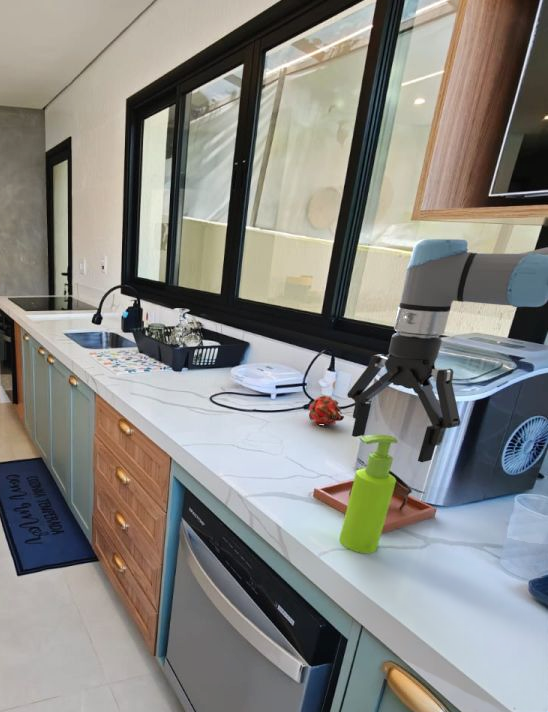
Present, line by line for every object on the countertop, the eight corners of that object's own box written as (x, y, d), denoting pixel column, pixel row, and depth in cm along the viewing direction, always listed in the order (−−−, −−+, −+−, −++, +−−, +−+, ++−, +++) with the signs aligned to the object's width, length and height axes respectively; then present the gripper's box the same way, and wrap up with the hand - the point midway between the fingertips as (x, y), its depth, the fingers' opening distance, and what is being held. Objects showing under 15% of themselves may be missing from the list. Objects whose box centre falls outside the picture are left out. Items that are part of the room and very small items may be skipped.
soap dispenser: (327, 535, 90) (352, 430, 82) (363, 533, 90) (391, 429, 83) (345, 554, 84) (374, 443, 77) (384, 552, 85) (416, 443, 77)
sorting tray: (434, 516, 97) (437, 508, 96) (381, 534, 90) (383, 525, 90) (363, 482, 110) (365, 475, 109) (312, 496, 103) (314, 488, 103)
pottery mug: (349, 488, 107) (378, 460, 103) (387, 520, 103) (419, 492, 99) (338, 495, 97) (370, 464, 94) (380, 531, 93) (415, 500, 90)
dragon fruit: (315, 420, 152) (329, 440, 142) (296, 404, 150) (309, 424, 140) (338, 401, 149) (354, 420, 138) (319, 384, 146) (333, 402, 136)
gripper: (341, 325, 96) (321, 429, 104) (482, 349, 76) (443, 476, 83) (368, 323, 99) (346, 424, 107) (509, 345, 79) (470, 469, 86)
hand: (389, 447), depth 95 cm, fingers open, 13 cm apart
